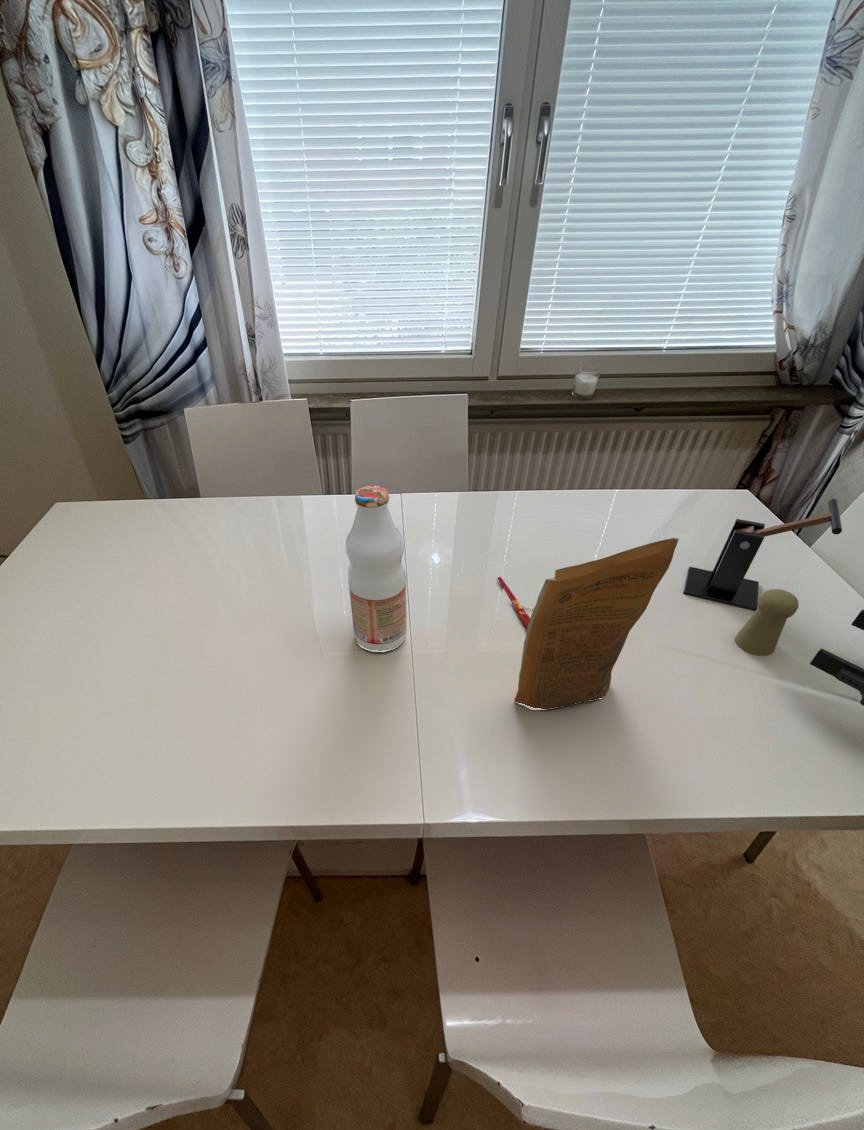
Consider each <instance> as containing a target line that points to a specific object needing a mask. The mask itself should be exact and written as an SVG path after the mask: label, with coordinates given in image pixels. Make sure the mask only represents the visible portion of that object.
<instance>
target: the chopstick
mask: <svg viewBox="0 0 864 1130" xmlns="http://www.w3.org/2000/svg"><path fill="white" fill-rule="evenodd" d="M497 580H498V582H499V583H500V585H501V587H502V589H503V590H504V592H505V593H506V595H507V596H508V598H509V600H510V602H511V604H512V606H513V608H514V610H515V611H516V613H517V615H518V616H519V618H520V620H521V622H522V623H523V625H524V627H525V629H526V630H527V627H528V624H529V621H530V618H531V616H529V615H528V613H527V612H526V610H525V608H524V607H523V606H522V604H521V603H520V601H519V600H518V599H517V597H516V596H515V595H514V593H513V592H512V591H511V589H510V588H509V587H508V585H507V584H506V582H505V580H504V579H503V578H502V577H501V576H497Z"/></svg>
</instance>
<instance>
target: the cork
mask: <svg viewBox="0 0 864 1130" xmlns="http://www.w3.org/2000/svg"><path fill="white" fill-rule="evenodd" d="M799 606H800V605H799V600H798V598H797V597H796V596H795V594H793V593H791V592H789V591H787V590H784V589H779V588H771V589H768V590H766V591H763V593H761V595H760V596H759V597H758V607H757V610H756V611H754V612H753V614H752V615H751V616H750V617H749V619H748V620H747V621H746V622H745V624H744V625H743V626H742V627H741V628H740V630H739V631H738V633H737V634H736V635H735V637H734V642H735V644H736V646H737V647H738V648H739V649H741V650H742V651H743V652H745V653H747V654H750V655H754V656H757V657H767V656H770V655H773V653H774V652H775V650H776V647H777V645H778V642H779V640H780V638H781V635H782V633H783V630H784V627H785V625H786V623H787V620H788V619H789V618H791V617H792V616H794V615H795V614H796V612H797V611H798V609H799Z"/></svg>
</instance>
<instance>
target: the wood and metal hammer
mask: <svg viewBox="0 0 864 1130" xmlns="http://www.w3.org/2000/svg"><path fill="white" fill-rule="evenodd" d="M838 502H839V501H838V499H837V498H836V499H835V498H832V499H830V500H828V501H827V506H828V513H824V514H820V515H815V516H811V517H807V518H803V519H798V520H795V521H791V522H790V521H789V522H787V523H782V524H778V525H774V526H770V527H766V528H765V527H764V529H761V530H756V531H755V529H754V526H751V527H747V528H743V529H739V530H740V531H745V532H750V533H755V534H761V535H764V538H765V537H769V536H774V535H779V534H782V533H783V534H784V533H787V532H791V531H796V530H800V529H804V528H808V527H813V526H818V525H820V524H821V525H822V524H825V523H830V529H831V534H833V535H840V534H841V533H842V532H843V527H842V522H841V514H840V507H839V503H838Z"/></svg>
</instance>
